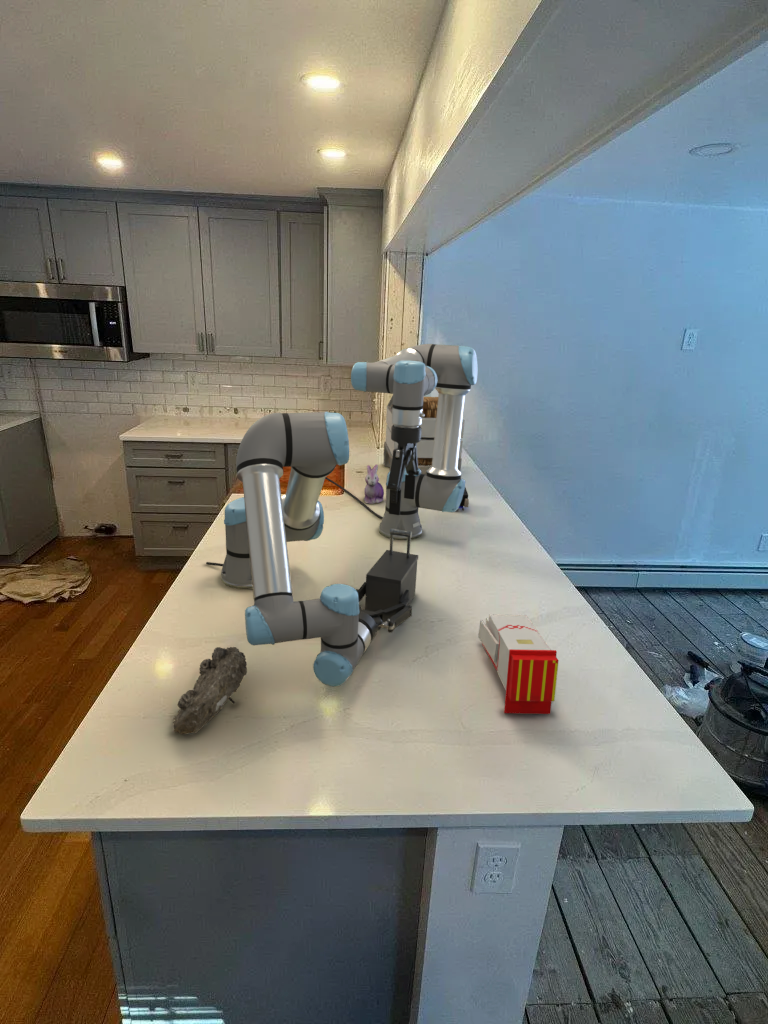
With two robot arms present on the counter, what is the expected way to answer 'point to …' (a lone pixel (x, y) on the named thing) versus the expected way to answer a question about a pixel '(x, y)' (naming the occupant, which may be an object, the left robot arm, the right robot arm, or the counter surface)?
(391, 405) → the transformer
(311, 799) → the counter surface
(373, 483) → the figurine
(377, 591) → the chest
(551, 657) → the toy
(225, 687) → the fossil
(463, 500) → the figurine character
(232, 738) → the counter surface
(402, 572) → the lid
